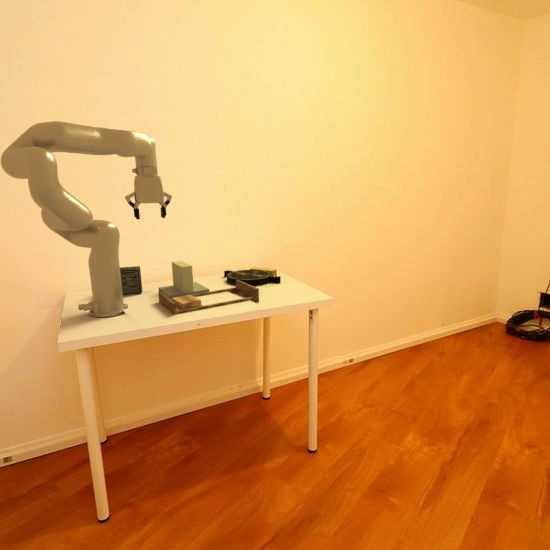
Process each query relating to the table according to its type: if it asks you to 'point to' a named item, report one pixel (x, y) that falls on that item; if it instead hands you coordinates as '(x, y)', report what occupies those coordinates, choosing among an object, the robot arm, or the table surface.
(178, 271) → the pale green block
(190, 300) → the upper offcut
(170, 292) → the grey board
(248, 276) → the decorative sign
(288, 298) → the table surface
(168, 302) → the frame
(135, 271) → the small box
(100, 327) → the table surface
